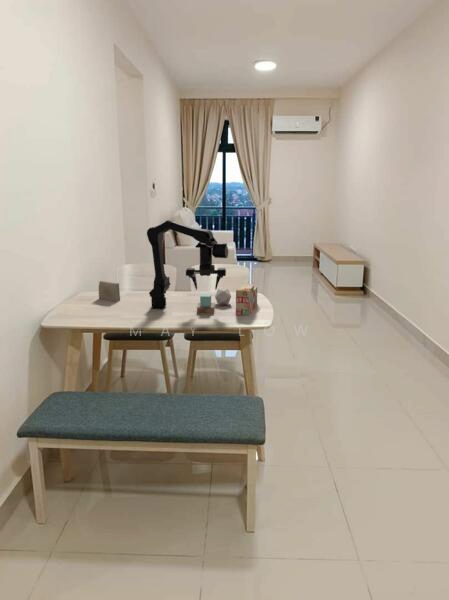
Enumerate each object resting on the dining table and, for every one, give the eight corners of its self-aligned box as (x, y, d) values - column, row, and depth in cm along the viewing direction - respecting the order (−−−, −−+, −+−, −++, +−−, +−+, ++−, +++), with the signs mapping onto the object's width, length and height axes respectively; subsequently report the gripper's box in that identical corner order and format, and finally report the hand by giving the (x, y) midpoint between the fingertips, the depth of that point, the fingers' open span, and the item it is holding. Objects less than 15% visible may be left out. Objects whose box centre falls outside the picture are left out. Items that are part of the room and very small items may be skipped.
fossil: (120, 300, 234) (119, 282, 231) (116, 302, 231) (115, 284, 228) (103, 297, 239) (102, 280, 236) (98, 299, 236) (97, 281, 233)
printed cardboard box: (245, 303, 230) (245, 279, 227) (257, 304, 229) (257, 280, 225) (235, 314, 210) (235, 289, 207) (248, 316, 209) (248, 290, 206)
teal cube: (200, 306, 212) (200, 296, 211) (200, 303, 217) (200, 293, 216) (210, 306, 212) (210, 296, 211) (211, 303, 217) (211, 293, 216)
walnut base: (197, 313, 212) (196, 307, 211) (198, 308, 219) (198, 302, 219) (213, 313, 211) (213, 307, 211) (214, 308, 219) (214, 303, 218)
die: (225, 308, 222) (235, 292, 223) (210, 299, 222) (220, 283, 223) (225, 309, 230) (234, 294, 231) (211, 301, 231) (220, 285, 231)
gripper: (184, 260, 201) (184, 293, 205) (225, 260, 200) (225, 293, 205) (186, 256, 212) (187, 288, 216) (225, 256, 211) (225, 288, 215)
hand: (206, 289), depth 213 cm, fingers open, 9 cm apart
